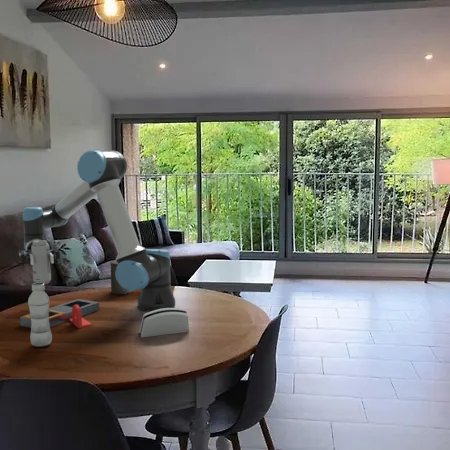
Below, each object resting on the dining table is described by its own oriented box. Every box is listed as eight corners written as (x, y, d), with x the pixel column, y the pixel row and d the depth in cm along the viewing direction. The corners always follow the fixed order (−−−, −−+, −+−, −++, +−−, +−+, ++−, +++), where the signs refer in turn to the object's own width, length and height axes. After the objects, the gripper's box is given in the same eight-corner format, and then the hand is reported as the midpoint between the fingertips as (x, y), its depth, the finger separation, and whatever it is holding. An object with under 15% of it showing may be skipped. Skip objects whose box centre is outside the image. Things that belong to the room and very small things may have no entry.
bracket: (91, 327, 185) (90, 305, 184) (79, 329, 182) (78, 307, 181) (79, 318, 194) (78, 298, 193) (67, 320, 192) (66, 299, 191)
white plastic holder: (185, 326, 183) (188, 303, 178) (189, 335, 179) (191, 311, 174) (138, 332, 177) (139, 308, 172) (141, 341, 173) (142, 317, 168)
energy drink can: (33, 281, 188) (31, 240, 186) (51, 280, 190) (49, 239, 188) (33, 285, 182) (30, 243, 180) (51, 283, 184) (48, 242, 182)
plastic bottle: (40, 350, 161) (36, 287, 158) (26, 346, 165) (22, 284, 162) (56, 344, 166) (53, 283, 164) (42, 340, 170) (39, 280, 167)
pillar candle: (107, 294, 228) (106, 260, 226) (115, 288, 237) (115, 256, 235) (128, 295, 226) (128, 261, 224) (136, 289, 236) (135, 256, 234)
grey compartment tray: (99, 309, 204) (99, 301, 203) (41, 330, 180) (41, 321, 179) (79, 306, 209) (78, 298, 209) (20, 325, 185) (20, 316, 185)
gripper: (62, 257, 205) (71, 268, 185) (11, 261, 198) (13, 273, 177) (61, 238, 205) (70, 247, 184) (9, 242, 197) (12, 251, 176)
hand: (42, 260), depth 180 cm, fingers closed on energy drink can, 6 cm apart
